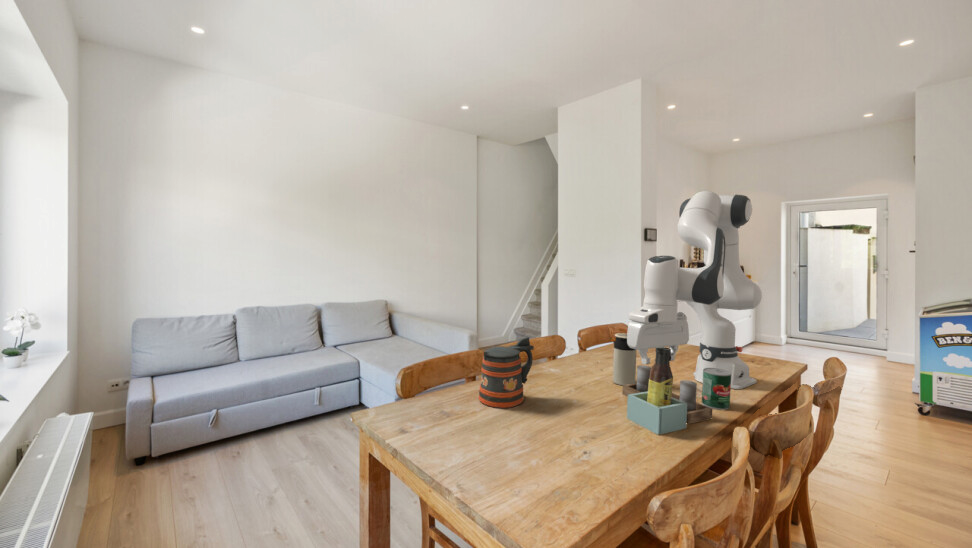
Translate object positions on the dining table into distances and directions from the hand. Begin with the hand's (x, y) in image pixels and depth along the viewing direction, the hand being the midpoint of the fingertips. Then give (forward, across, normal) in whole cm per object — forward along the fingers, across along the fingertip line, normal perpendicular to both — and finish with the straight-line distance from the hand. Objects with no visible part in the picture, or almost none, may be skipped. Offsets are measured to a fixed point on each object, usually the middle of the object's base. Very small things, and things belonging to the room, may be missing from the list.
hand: (658, 362), depth 113 cm
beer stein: (+18, +31, -33) cm, 49 cm away
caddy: (+18, 0, 0) cm, 18 cm away
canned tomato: (+18, -29, -3) cm, 34 cm away
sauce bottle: (+16, -1, 0) cm, 16 cm away
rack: (+18, -13, -9) cm, 24 cm away
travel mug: (+18, -17, -31) cm, 40 cm away
